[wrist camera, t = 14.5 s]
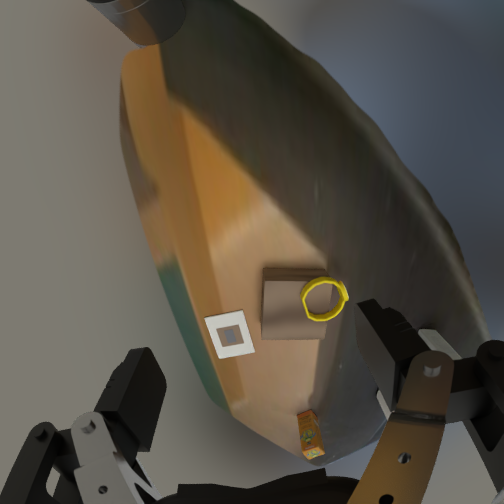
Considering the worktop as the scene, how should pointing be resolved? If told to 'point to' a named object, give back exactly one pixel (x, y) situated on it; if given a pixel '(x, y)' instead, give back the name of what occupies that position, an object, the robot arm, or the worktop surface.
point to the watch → (336, 309)
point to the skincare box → (437, 342)
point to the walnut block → (293, 304)
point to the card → (230, 334)
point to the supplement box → (310, 435)
